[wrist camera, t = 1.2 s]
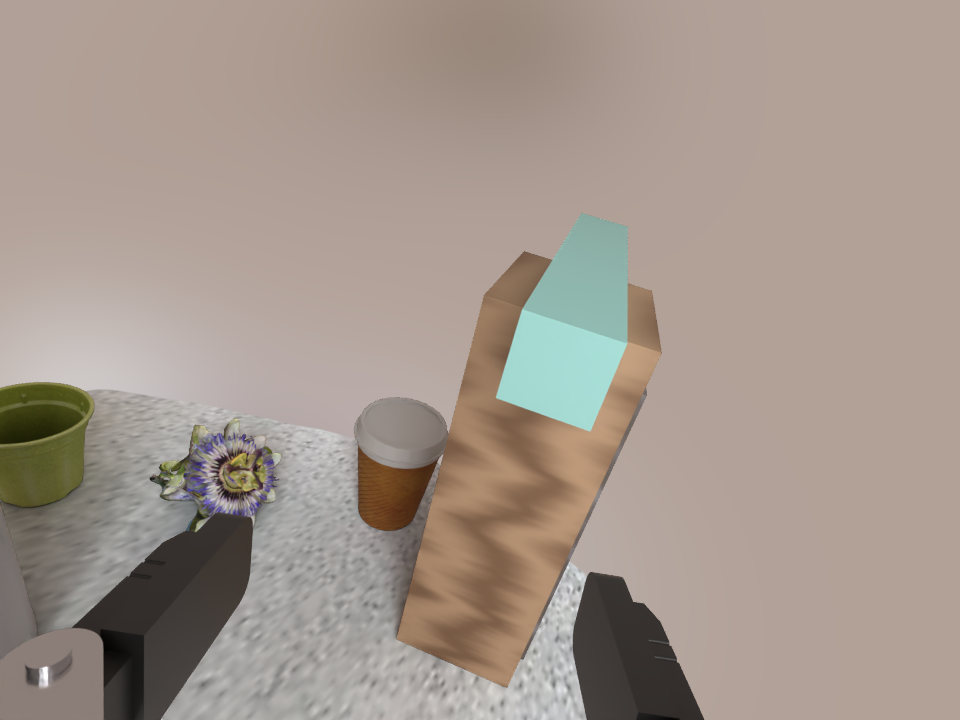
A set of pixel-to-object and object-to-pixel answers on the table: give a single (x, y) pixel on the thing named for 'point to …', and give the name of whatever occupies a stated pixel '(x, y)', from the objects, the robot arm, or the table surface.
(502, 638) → the tall wooden pillar block
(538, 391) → the rail
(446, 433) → the disposable coffee cup
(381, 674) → the table surface
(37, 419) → the plant pot
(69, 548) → the table surface
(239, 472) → the passion flower
